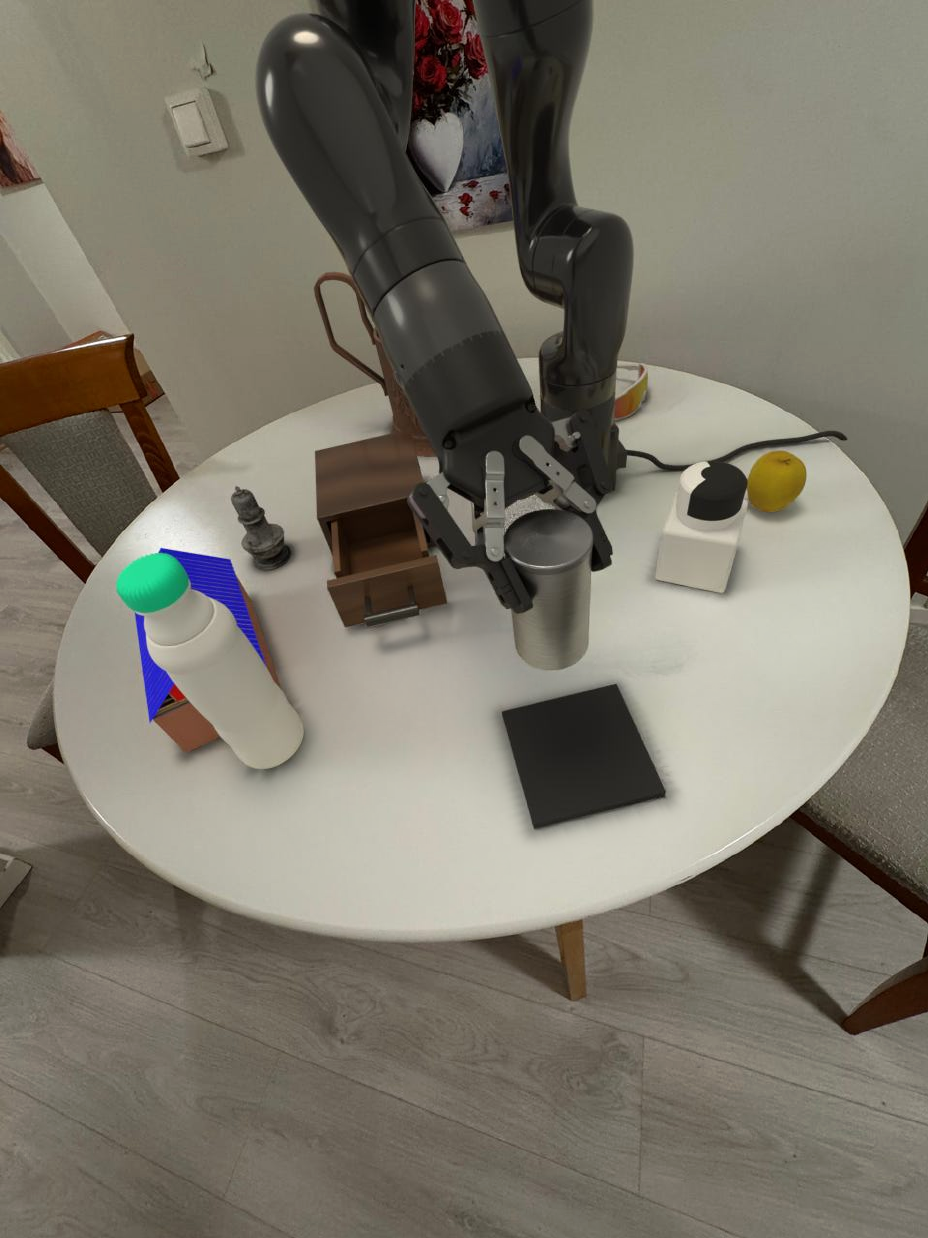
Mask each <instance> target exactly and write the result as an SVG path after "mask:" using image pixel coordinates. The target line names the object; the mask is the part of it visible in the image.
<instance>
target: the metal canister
mask: <svg viewBox="0 0 928 1238" xmlns="http://www.w3.org/2000/svg"><path fill="white" fill-rule="evenodd" d="M503 537H504V557H505V559H506V558H508V557H510V559H511V561H512V563H513V565H514V566H515V568H516V570H517V572H518V574H519V576H520V578H521V580H522V582H523V584H524V586H525V588H526V590H527V592H528V594H529V597H530V599H531V601H532V603H533V608H532V609H530V610H528V611H526V612H525V613H520V614H516V613H515V612H514V611H513V609H510V613H511V614H510V615H511V622H512V631H513V639H514V647H515V650H516V653H517V654H518V656H519V657H520V658H521V660H523V662H524V663H526V664H527V665H529V666H531V667H532V668H535V669H539V670H541V671H554V672H555V671H561V670H565V669H568V668H570V667H572V666H574V665H575V664H577V663H578V662H579V661H581V660H582V659H583V657H584V656H585V655H586V653H587V651H588V648H589V641H590V617H591V616H590V613H591V587H592V571H591V565H592V548H593V533H592V530H591V528H590V526H589V525H588V524H587V522H586V521H585V520H584V519H582V518H581V517H579V516H578V515H576V514H574V513H571V512H568V511H564V510H558V509H556V508H543V509H537V510H533V511H530V512H527V513H525V514H522V515H521V516H519V517H517V518H516V519H514V520H513V521H512V522H511V523H510V524H509V525H508V526H507V528H506V530H505V531H504V532H503Z"/></svg>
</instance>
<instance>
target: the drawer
mask: <svg viewBox="0 0 928 1238" xmlns="http://www.w3.org/2000/svg"><path fill="white" fill-rule="evenodd" d="M331 531H332V548H333V556H332V563H333V573H334V575H335V576H334V577H335V578H331V579H328V580H326V589H327V591H328V593H329V595H330V598H331V600H332V602H333V605H334V606H335V609H336V612H337V614H338V616H339V617H340V620H341V622H342V624H343V627H344V628H349V627H353V626H358V625H363V624H365V627H366V628H371V627H377V626H380V625H384V624H388V623H392V622H397V621H400V620H401V621H402V620H405V619H410V618H413V617H418V616H421V612H420V610H427V609H430V608H434V607H438V606H443V605H447V604H448V602H449V601H448V598H447V594H446V590H445V585H444V581H443V577H442V572H441V569H440V564H439V560H438V556H437V554H434V555H430V550H429V548H428V545H427V541H426V537H425V532H424V528H423V525H422V524H421V522H420V521H419V520H418V518H417V517H416V515H415V514H414V512H413V511H412V510H411V508H410V507H409V505H408V503H406V504H402V505H397V506H393V507H389V508H384V509H380V510H376V511H371V512H367V513H363V514H359V515H354V516H350V517H346V518H341V519H337V520H333V521H331Z"/></svg>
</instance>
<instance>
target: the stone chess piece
mask: <svg viewBox="0 0 928 1238" xmlns="http://www.w3.org/2000/svg"><path fill="white" fill-rule="evenodd" d="M230 502H231V504H232V506H233V508H234V510H235V512H236V513H237V515H238V516H237V522H238V523H239V524H241V525H242V526H243V528H244V530H245V532H246V533H245V535H244V536H243V537H242V540H241V547H242V549H243V550H244V551H245V552H247V553H248V554H249V555H251V556H252V557H253V564H254V566H255V567H256V568H257V569H259V570H262V571H270V570H274V569H278V568H279V567H281V566H283V565H285V564H286V563H287V562H288V561H289V560H290V558H291V556H292V550H291V547H290V546H289V545H287V544H285V530H284V528H283V527H282V526H281V525H279V524H277V523H269V522H268V519H267V518H266V510H265V509H264V508H263V507H261V506H260V505H259V504H258V501H257V499H256V497H255V495H254V493H253V491H251V490H249V489H247V488H241V487H240V486H238V485H235V487H234V492H233V493H232V495H231V496H230Z"/></svg>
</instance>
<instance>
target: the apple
mask: <svg viewBox="0 0 928 1238" xmlns="http://www.w3.org/2000/svg"><path fill="white" fill-rule="evenodd" d="M807 475H808V474H807V468H806V465H805V463H804V462H803V461H802V460H801V459H800V458H799V457H798V456H796V455H795V454H793V453H791V452H789V451H786V450H772V451H769V452H767V453H764V454H763V455H761V456H760V457H759V458H758V459H757V460H756V461H755V462H754V464H753V465H752V467H751V469H750V471H749V474H748V476H747V480H748V484H747V489H746V493H747V498H748V500H749V502H750V504H751V506H752V507H754V509H756V510H759V511H761V512H762V513H774V512H778V511H781V510H784V509H786V508H787V507H788V506H789V505H790V504H792V503H793V502H794V501H795V500H796V499H797V498H799V496H800V495H801V494H802V492H803V490H804V488H805V486H806V482H807Z"/></svg>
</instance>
